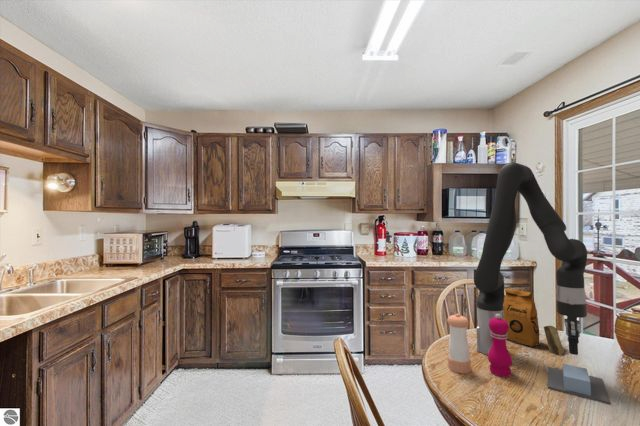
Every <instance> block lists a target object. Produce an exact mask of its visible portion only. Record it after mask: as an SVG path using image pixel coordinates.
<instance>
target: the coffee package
mask: <svg viewBox="0 0 640 426" xmlns="http://www.w3.org/2000/svg"><path fill="white" fill-rule="evenodd" d="M503 316H504V320H505V321H506V322H507V323H508V326H509V330H508V331H507V332H506V333H507V339H508V340H510V341H513V342H517V343H519V344H521V345H526V346H529V347H531V348H534V347H536V346H540V327H539V318H538V310H537V306H536V302H535V298H534V294H533V292H529V291H523V290H518V289H513V288H512V289H510V288H505V289H504V304H503ZM507 339H506V340H507Z"/></svg>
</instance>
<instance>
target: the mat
mask: <svg viewBox="0 0 640 426" xmlns="http://www.w3.org/2000/svg"><path fill="white" fill-rule="evenodd" d="M589 379H590V385H591V396H589V395H585V394H581V393H577V392H573V391H569V390H565V389H564V379H563V369H561V368H556V367H552V366H547V389H549V390H553V391H557V392H561V393H564V394H568V395H572V396H576V397H579V398H580V397H581V398H584V399H587V400H592V401H597V402H598V403H604V404H608V405H610V404H611V401H610V398H609V395H608V393H607V392H608V391H607V389H606V386H605V383H604V379H603V378H601V377H599V376H598V377H597V376H593V375H589Z"/></svg>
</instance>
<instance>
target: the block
mask: <svg viewBox="0 0 640 426" xmlns="http://www.w3.org/2000/svg"><path fill="white" fill-rule="evenodd" d="M562 370H563V379H564V389H565V390H569V391H573V392H577V393H581V394H585V395H589V396H591V385H590V379H589V376H590V375H589V373H588V369H587V368H586V367H580V366H576V365H572V364H566V363H562Z"/></svg>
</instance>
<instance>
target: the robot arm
mask: <svg viewBox="0 0 640 426" xmlns="http://www.w3.org/2000/svg"><path fill="white" fill-rule="evenodd" d="M496 181H497V182H496V186H495V187H496V188H495V195H494V201H493V203H492V209H491V213H490V217H489V220H488V224H487V228H486V232H485V237H484V241H483V247H482V252H481V256H480V259H479V263H478V264H477V268H476V269H475V272H474V276H473V284H474V286H475V287H476V289H477V290H478V297H477V300H476V315H477V316H476V317H477V326H476V348H477V349H476V350H477V352H480V353H482V354H484V355H487V356H488V353H489V351H490V349H491V347H492V343H493V339H492V336H491V331H492V330H491V329H490V328H489V321H490V320H491V319H492V318H496V317H495V315H496V314H500V315H501V319H504V312H503V306H504V299H505V279H504V276H503V274H502V272H501V265H502V263H503V260H504V257H505V255H506V254H507V252H508V250H509V248H510V247H511V244H512V241H513V239H514V235H515V232H516V227H517V223H518V222H517V213H516V198H517V193H519V194H520V195H521V196H522V197H523V198H524V201H525V202H526V205H527V206H528V211H529V213H530V216H531V218H532V220H533V221H534V223H535V224H536V226H537V227H538V229H539V230H540V232H541V234H542V235H543V239H544V241H545V243H546V246H547V249H548V251H549V252H550V254H551V255H552V256H553V257H554V258H555V259H557V260H558V261H561V266H560V267H559V268H557V269H556V275H555V277H556V279H555V280H556V291H555V292H556V293H555V297H556V312H557V313H558V314H560V315H561V316H565V317H566V318H564V319H563V321H564V322H563V323H564V327H565V335H566V336H567V342H568V353H569V354H571V355H575V356H578V355H579V342H580V340H579V338H580V337H581V333H580V329H581V322H580V320H578V318H586V317H588V316H587V315H588V313H587V311H588V310H587V308H588V307H587V293H586V290H585V277H584V276H585V274H584V273H585V270H586V266H587V260H588V250H587V247H586V245H585V244H584V242H582V241H581V240H579V239H575V238H568V236H567V234H566V231H567V225H566V224H565V221H563V219H562V217H561V216H560V215H559V214H558V213H557V211H556V210H555V209H554V207H553V206H552V204H551V203H550V201H549V199H547V197H546V196H545V194H544V192H543V191H542V189H541V187H540V185H539V182H538V181H537V178H536V177H535V174H534V172H533V171H532V169H531V168H530V167H528V166H527V165H524V164H522V163H517V162H508V163H506V164H504V165H503V166H502V167H501V168H500V170H499V172H498V175H497V180H496Z"/></svg>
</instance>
